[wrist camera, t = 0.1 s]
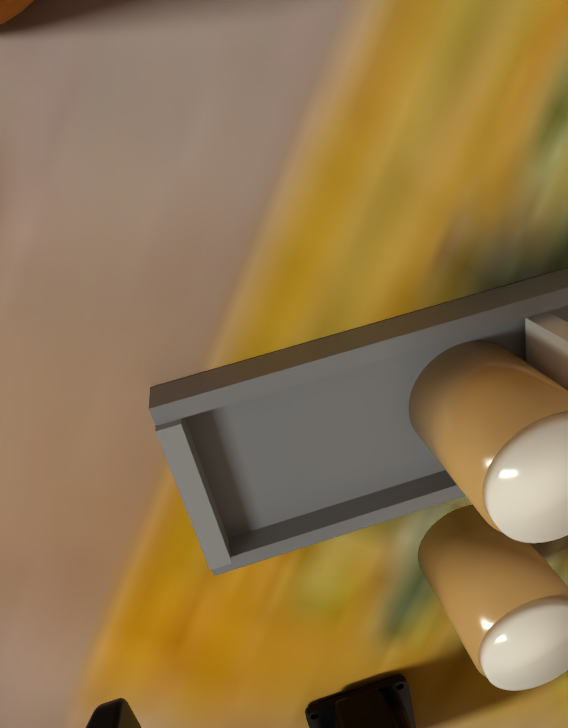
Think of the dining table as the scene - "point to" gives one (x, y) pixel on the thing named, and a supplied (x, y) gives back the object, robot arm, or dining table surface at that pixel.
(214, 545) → the tray
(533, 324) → the pusher
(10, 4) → the wine bottle
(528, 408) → the amber jar
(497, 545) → the amber jar
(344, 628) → the dining table surface
